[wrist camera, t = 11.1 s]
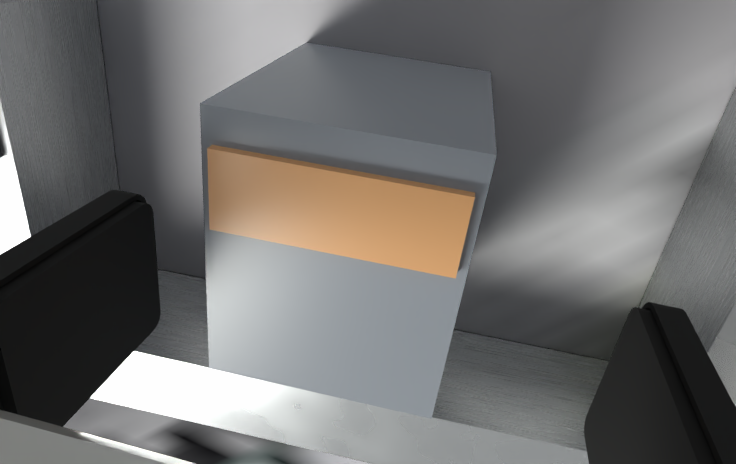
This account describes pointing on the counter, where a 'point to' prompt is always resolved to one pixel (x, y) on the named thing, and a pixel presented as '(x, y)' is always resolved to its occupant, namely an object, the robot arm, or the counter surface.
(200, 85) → the counter surface
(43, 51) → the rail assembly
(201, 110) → the module block
